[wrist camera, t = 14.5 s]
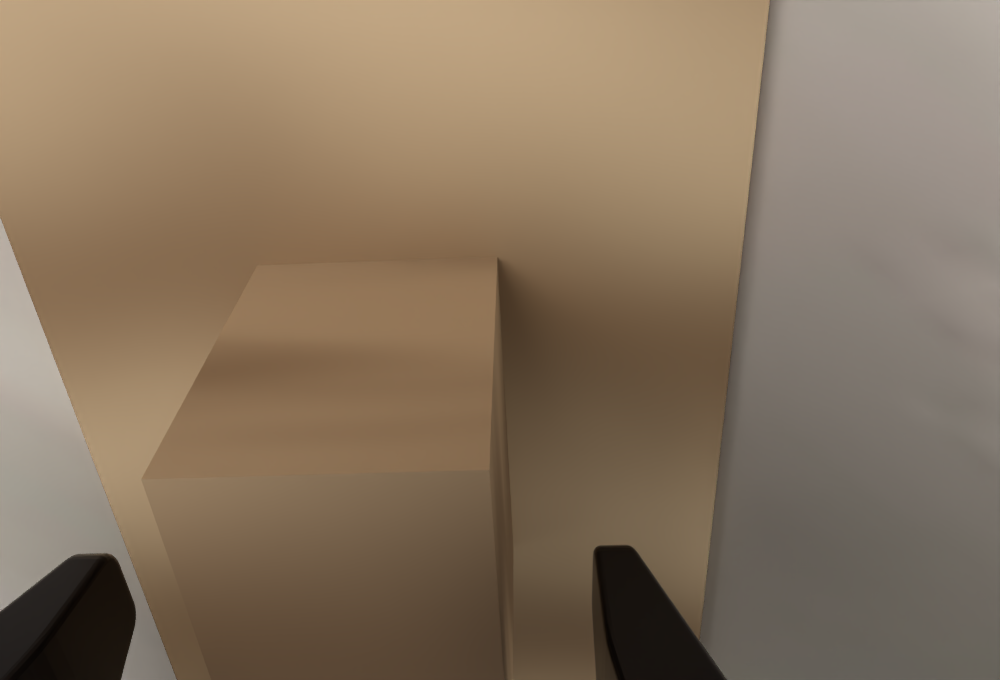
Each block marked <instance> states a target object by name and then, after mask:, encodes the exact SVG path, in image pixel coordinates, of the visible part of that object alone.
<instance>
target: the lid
mask: <svg viewBox="0 0 1000 680" xmlns="http://www.w3.org/2000/svg"><path fill="white" fill-rule="evenodd" d="M769 3H770V0H0V218H1V220H2V223H3V226H4V228H5V231H6V233H7V236H8V239H9V241H10V244H11V246H12V249H13V252H14V254H15V257H16V260H17V262H18V265H19V267H20V270H21V273H22V275H23V278H24V281H25V283H26V286H27V288H28V291H29V294H30V296H31V299H32V301H33V304H34V307H35V309H36V312H37V315H38V317H39V320H40V322H41V325H42V328H43V330H44V333H45V335H46V338H47V341H48V343H49V346H50V349H51V351H52V354H53V356H54V359H55V362H56V364H57V367H58V370H59V372H60V375H61V377H62V380H63V383H64V385H65V388H66V390H67V393H68V396H69V398H70V401H71V404H72V406H73V409H74V411H75V414H76V417H77V419H78V422H79V425H80V427H81V430H82V432H83V435H84V438H85V440H86V443H87V445H88V448H89V451H90V453H91V456H92V459H93V461H94V464H95V466H96V469H97V472H98V474H99V477H100V480H101V482H102V485H103V487H104V490H105V493H106V495H107V498H108V500H109V503H110V506H111V508H112V511H113V514H114V516H115V519H116V521H117V524H118V527H119V529H120V532H121V535H122V537H123V540H124V542H125V545H126V548H127V550H128V553H129V555H130V558H131V561H132V563H133V566H134V569H135V571H136V574H137V576H138V579H139V582H140V584H141V587H142V589H143V592H144V595H145V597H146V600H147V603H148V605H149V608H150V610H151V613H152V616H153V618H154V621H155V624H156V626H157V629H158V631H159V634H160V637H161V639H162V642H163V644H164V647H165V650H166V652H167V655H168V658H169V660H170V663H171V665H172V668H173V671H174V673H175V676H176V679H177V680H596V667H595V651H594V635H593V619H592V574H593V551H594V549H595V548H596V547H597V546H600V545H630V546H632V547H633V548H634V549H635V550H636V551H637V552H638V554H639V555H640V557H641V558H642V559H643V561H644V562H645V564H646V565H647V567H648V568H649V569H650V571H651V572H652V574H653V575H654V577H655V578H656V579H657V581H658V582H659V584H660V585H661V587H662V588H663V589H664V591H665V592H666V594H667V595H668V597H669V598H670V599H671V601H672V602H673V604H674V605H675V607H676V608H677V609H678V611H679V612H680V614H681V615H682V617H683V618H684V619H685V621H686V622H687V624H688V625H689V627H690V628H691V629H692V631H693V632H694V634H695V635H696V637H697V638H698V639H699V640H700V631H701V622H702V613H703V603H704V594H705V585H706V576H707V567H708V558H709V549H710V540H711V531H712V522H713V512H714V503H715V494H716V485H717V476H718V467H719V458H720V449H721V440H722V431H723V421H724V412H725V403H726V394H727V385H728V376H729V367H730V358H731V349H732V340H733V330H734V321H735V312H736V303H737V294H738V285H739V276H740V267H741V258H742V248H743V239H744V230H745V221H746V212H747V203H748V194H749V185H750V176H751V167H752V157H753V148H754V139H755V130H756V121H757V112H758V103H759V94H760V85H761V76H762V66H763V57H764V48H765V39H766V30H767V21H768V12H769Z"/></svg>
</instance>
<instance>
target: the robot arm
mask: <svg viewBox="0 0 1000 680" xmlns="http://www.w3.org/2000/svg"><path fill="white" fill-rule="evenodd" d="M592 619H593V635H594V651H595V667H596V680H727V679H726V678H725V677H724V675H723V674H722V672H721V671H720V669H719V668H718V667H717V665H716V664H715V662H714V661H713V659H712V658H711V657H710V655H709V654H708V652H707V651H706V649H705V648H704V647H703V645H702V644H701V642H700V641H699V639H698V638H697V637H696V635H695V634H694V632H693V631H692V629H691V628H690V627H689V625H688V624H687V622H686V621H685V619H684V618H683V617H682V615H681V614H680V612H679V611H678V609H677V608H676V607H675V605H674V604H673V602H672V601H671V599H670V598H669V597H668V595H667V594H666V592H665V591H664V589H663V588H662V587H661V585H660V584H659V582H658V581H657V579H656V578H655V577H654V575H653V574H652V572H651V571H650V569H649V568H648V567H647V565H646V564H645V562H644V561H643V559H642V558H641V557H640V555H639V554H638V552H637V551H636V550H635V549H634V548H633V547H632V546H630V545H600V546H597V547H596V548H595V549H594V551H593V574H592ZM135 620H136V610H135V605H134V601H133V599H132V596H131V593H130V591H129V588H128V586H127V583H126V580H125V578H124V575H123V573H122V570H121V567H120V565H119V563H118V561H117V559H116V558H115V557H114V556H113V555H111V554H107V553H105V554H77V555H74V556H72V557H70V558H68V559H67V560H65V561H64V562H63V563H61V564H60V565H59V566H58V567H56V568H55V569H54V570H53V571H51V572H50V573H49V574H47V575H46V576H45V577H44V578H42V579H41V580H40V581H39V582H37V583H36V584H35V585H34V586H32V587H31V588H30V589H28V590H27V591H26V592H25V593H23V594H22V595H21V596H20V597H18V598H17V599H16V600H14V601H13V602H12V603H11V604H9V605H8V606H7V607H6V608H4V609H3V610H2V611H0V680H121V677H122V673H123V669H124V665H125V661H126V658H127V654H128V650H129V646H130V642H131V639H132V635H133V631H134V627H135Z"/></svg>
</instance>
